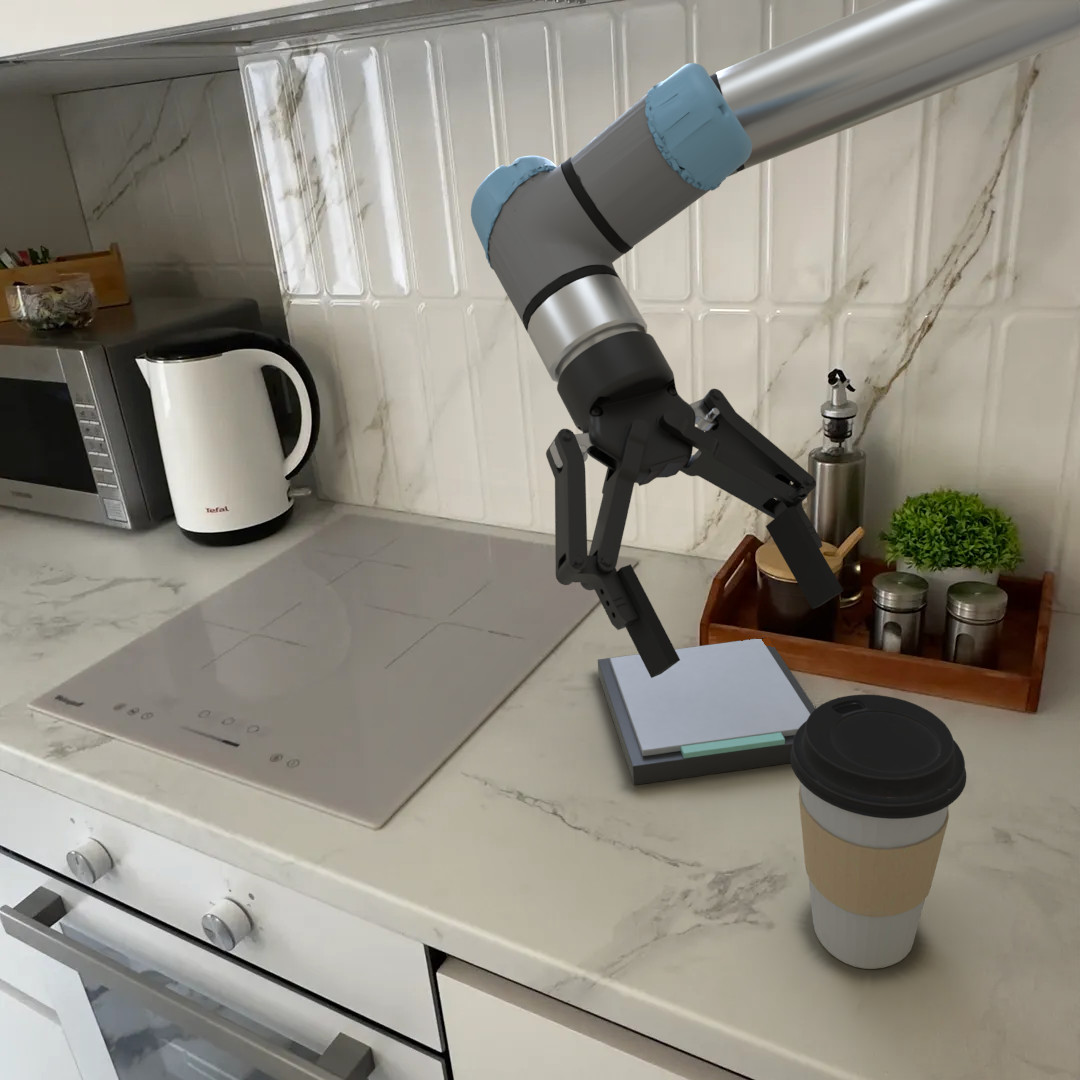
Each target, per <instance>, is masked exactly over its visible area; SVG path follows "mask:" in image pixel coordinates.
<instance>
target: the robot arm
mask: <svg viewBox="0 0 1080 1080" xmlns="http://www.w3.org/2000/svg"><path fill="white" fill-rule="evenodd" d="M1079 39H1080V0H880V1H879V2H875V3H874V4H872V5H871V4H870V5H869V6H867V7H864V8H862V9H859V10H858V11H856V12H853V13H851V14H848V15H846V16H844V17H841V18H839V19H836V20H834V21H832V22H830V23H827V24H825V25H822V26H821V27H818V28H816V29H814V30H812V31H809V32H806V33H804V34H802V35H800V36H797V37H795V38H792V39H790V40H788V41H786V42H783V43H781V44H778V45H777V46H774V47H772V48H769V49H767V50H765V51H762V52H760V53H758V54H755V55H753V56H751V57H749V58H746V59H743V60H742V61H739V62H737V63H735V64H733V65H730V66H728V67H726V68H724V69H721V70H719V71H718V70H717V71H716V72H715V73H713V74H711V75H709V72H708V71H707V70H706V68H705V67H704V66H703V65H701V64H699V63H696V62H691V63H686V64H684V65H683V66H682V67H680V68H679V69H678V70H677V71H675V72H673V74H671V75H670V76H668V77H667V78H666V79H664V80H661V81H660V82H658V83H657V84H655V85H653V86H652V87H651V88H650V89H649V90H648V91H647V92H646V94H644V96H642V97H641V98H640V99H638V100H637V101H636V102H635V103H634V104H633V105H632V106H631V107H629V108H627V110H626V111H625V112H623V113H622V114H621V115H619V116H618V118H616V119H615V120H614V121H612V122H611V123H610V124H609V125H608V126H607V127H606V128H604V130H602V131H601V132H600V133H599V134H597V135H596V136H595V137H594V138H592V140H590V141H589V142H588V143H587V144H586V145H585V146H584V147H582V148H581V149H580V150H579V151H577V153H575V154H574V155H573V156H571V157H569V158H568V159H567V160H565V161H564V162H561V163H560V164H558V165H556V164H555V163H554V162H553V161H551V160H550V159H548V158H546V157H544V156H541V155H526V156H525V155H524V156H520V157H517V158H516V159H514V161H512V163H510V164H509V165H507V166H506V165H505V164H501V165H499V166H498V167H496V168H495V169H494V170H493V171H491V172H490V173H489V174H488V175H487V176H486V177H485V178H484V179H483V180H482V182H480V184H479V185H478V187H477V189H476V191H475V192H474V195H473V198H472V200H471V205H470V206H471V207H470V217H471V222H472V225H473V227H474V230H475V231H476V235H477V237H478V239H479V241H480V243H481V245H482V248H483V250H484V253H485V259H486V260H487V263H488V265H489V267H490V268H491V269H492V270H493V271H494V273H495V275H496V277H497V279H498V280H499V282H500V285H501V286H502V288H503V290H504V291H505V293H506V295H507V297H508V299H509V301H510V302H511V304H512V306H513V308H514V310H515V311H516V313H517V315H518V317H519V319H520V321H521V322H522V324H523V327H524V329H525V331H526V333H527V334H528V336H529V338H530V340H531V342H532V344H533V346H534V348H535V350H536V351H537V353H538V355H539V357H540V359H541V361H542V363H543V365H544V367H545V369H546V371H547V373H548V375H549V377H550V378H551V380H552V381H553V382H556V383H557V385H556V391H557V393H558V395H559V397H560V399H561V401H562V403H563V405H564V407H565V408H566V411H567V413H568V414H569V416H570V419H571V420H572V423H573V424H574V426H575V427H576V428H577V430H578V431H580V432H582V433H576V434H575V433H574V432H573V431H572V430H571V429H569V428H562V429H560V430H559V431H558V432H557V434H556V435H555V436H554V439H553V440H552V441H551V443H550V445H549V446H548V448H547V449H546V452H545V456H546V460H547V462H548V464H549V468H550V469H551V472H552V475H553V478H554V524H555V525H554V532H555V533H554V534H555V535H554V537H555V540H554V541H555V542H554V543H555V547H554V549H555V556H554V557H555V578H556V580H557V582H558V583H559V584H560V585H563V586H569V585H571V584H573V583H580V586H581V587H582V588H583V589H584V590H586V591H595V593H596V595H597V597H598V599H599V602H600V604H601V605H602V607H603V609H604V612H605V613H606V616H607V617H608V619H609V621H610V624H611V625H612V626H613V627H614V628H615V629H616V630H617V631H620V630H623V629H626V631H627V633H628V635H629V636H630V639H631V641H632V643H633V645H634V647H635V649H636V651H637V654H639V655H640V657H641V659H642V661H643V663H644V665H645V667H646V669H647V671H648V673H649V674H650V676H651V678H653V677H655V676H657V675H660V674H662V673H663V672H664V671H666V670H667V669H669V668H670V667H671V666H673V665H674V664H675V663H677V662H678V661H680V659H679V657H678V655H677V653H676V651H675V649H676V648H675V647H674V645H673V644H672V641H671V640H670V638H669V635H668V634H667V632H666V630H665V627H664V625H663V624H662V622H661V620H660V618H659V615H657V612H656V610H655V608H654V607H653V605H652V603H651V600H650V599H649V597H648V595H647V593H646V591H645V589H644V587H643V585H642V583H641V581H640V579H639V578H638V575H637V573H636V572H635V570H634V568H633V566H632V564H627V565H625V566H622V567H619V569H618V570H617V569H616V567H617V564H618V560H619V556H620V551H621V545H622V541H623V538H624V537H623V536H624V533H625V528H626V523H627V519H628V514H629V509H630V504H631V499H632V496H633V491H634V486H635V484H637V485H638V486H639V487H641V486H645V485H647V484H650V483H651V482H653V481H654V480H655V479H657V478H658V479H659V478H660V479H661V478H669V477H673V476H676V475H677V474H678V473H679V472H682V473H683V474H685V475H686V476H688V477H699V478H701V479H703V480H705V481H706V482H708V483H710V484H712V485H714V486H716V487H717V488H719V489H721V490H722V491H724V492H726V493H728V494H730V495H731V496H733V497H735V498H737V499H738V500H740V501H742V502H743V503H746V504H747V505H749V506H751V507H752V508H754V509H756V510H757V511H760V512H761V513H763V514H765V515H767V516H768V517H770V518H772V520H771V521H770V522H769V523H767V525H765V528H766V530H767V532H768V534H769V535H770V537H771V538H772V541H773V542H774V544H775V546H776V548H777V549H778V551H779V552H780V554H781V556H782V558H783V560H784V561H785V563H786V565H787V567H788V568H789V570H790V572H791V574H792V576H793V577H794V579H795V581H796V583H797V584H798V586H799V588H800V590H801V591H802V593H803V595H804V597H805V598H806V601H807V602H808V604H809V606H810V608H811V609H812V610H814V609H816V608H817V609H818V608H819V607H821V606H822V605H824V604H826V603H827V602H829V601H831V600H832V599H834V598H835V597H837V596H838V595H840V594H841V593H843V592H844V589H843V587H842V584H840V582H839V580H838V579H837V577H836V575H835V573H834V572H833V569H832V568H831V566H830V564H829V563H828V561H827V559H826V558H825V556H824V554H823V552H822V551H821V548H823V542H822V538H821V537H820V535H819V533H818V532H817V529H816V528H815V527H814V525H813V523H812V521H811V519H810V518H809V516H808V514H807V513H806V510H805V509H804V507H803V501H804V500H806V499H807V498H808V496H809V494H810V493H811V492H812V491H813V490H814V489H816V487H817V481H816V479H815V477H814V476H812V475H811V474H810V473H809V472H808V471H807V470H805V469H804V468H803V467H802V466H801V465H799V464H798V463H797V462H796V461H795V460H794V459H793V458H791V457H790V456H789V455H788V454H787V453H786V452H784V451H783V450H782V449H780V448H779V447H778V446H777V445H776V444H775V443H773V442H772V441H771V440H770V439H768V438H767V437H766V436H765V435H764V434H762V433H761V431H759V430H758V429H757V428H756V427H754V426H753V425H752V424H750V422H748V421H747V420H746V419H745V418H743V417H742V416H741V415H740V414H738V413H737V412H736V410H735V409H734V407H733V406H732V404H731V403H730V402H729V400H728V399H727V397H726V396H725V395H724V393H723V392H722V391H721V390H720V389H718V388H711V389H710V390H708V392H707V393H706V394H705V396H703V398H702V399H699V400H697V401H695V402H692V403H688V402H687V401H685V399H683V398H682V397H681V395H679V392H678V391H677V387H676V380H675V374H674V371H673V370H672V367H671V366H670V364H669V362H668V361H667V359H666V357H665V356H664V353H663V352H662V350H661V348H660V346H659V344H658V342H657V341H656V340H655V338H654V336H653V335H651V334H650V333H648V324H647V323H646V320H645V319H644V318H643V315H642V314H641V312H640V310H639V308H638V306H637V305H636V303H635V302H634V300H633V299H632V296H631V295H630V293H629V291H628V290H627V288H626V286H625V285H624V283H623V281H622V279H621V277H620V276H619V274H618V273H617V271H616V269H615V267H614V264H613V263H614V262H616V261H617V260H618V259H620V258H621V257H622V256H624V255H625V254H627V253H628V252H629V251H631V250H633V248H634V247H635V246H636V245H638V244H639V243H640V242H641V241H643V240H645V239H646V238H647V237H649V236H651V234H653V233H654V232H655V231H657V230H658V229H660V228H662V226H664V225H665V224H667V223H668V222H669V221H670V220H672V219H674V218H675V217H676V216H677V215H679V214H681V212H683V211H684V210H686V209H687V208H688V207H690V206H692V204H694V203H695V202H696V201H698V200H699V199H701V198H702V197H703V196H704V195H706V194H707V193H709V192H710V191H712V192H713V191H715V190H716V189H718V188H720V186H721V185H722V183H724V181H725V180H726V179H727V178H729V177H731V176H733V175H736V174H738V173H739V172H742V171H744V170H746V169H749V168H751V167H755V166H757V165H759V164H762V163H764V162H767V161H769V160H772V159H775V158H777V157H779V156H782V155H785V154H788V153H790V152H792V151H795V150H798V149H801V148H802V147H805V146H808V145H810V144H813V143H816V142H819V141H820V140H823V139H826V138H829V137H831V136H834V135H836V134H838V133H841V132H844V131H846V130H850V129H851V128H853V127H856V126H859V125H861V124H865V123H867V122H869V121H872V120H874V119H876V118H877V119H878V118H880V117H882V116H884V115H887V114H889V113H892V112H895V111H897V110H900V109H902V108H904V107H907V106H910V105H913V104H914V103H915V104H916V103H918V102H920V101H923V100H926V99H928V98H930V97H934V96H935V95H938V94H940V93H943V92H945V91H948V90H950V89H953V88H956V87H958V86H960V85H961V86H962V85H964V84H966V83H968V82H971V81H973V80H976V79H979V78H982V77H984V76H987V75H989V74H991V73H994V72H997V71H1000V70H1002V69H1004V68H1007V67H1009V66H1012V65H1015V64H1018V63H1020V62H1023V61H1024V60H1027V59H1030V58H1032V57H1034V56H1037V55H1041V54H1043V53H1045V52H1047V51H1051V50H1053V49H1055V48H1057V47H1061V46H1063V45H1065V44H1069V43H1070V42H1074V41H1076V40H1079ZM696 425H697V426H696ZM693 449H696V450H697V451H696V452H695V453H694V454H693ZM589 456H590V457H591V458H592V459H594V460H595V461H597V462H598V463H600V464H602V466H605V467H606V473H605V476H604V481H603V484H602V485H603V486H602V488H601V489H602V490H601V494H602V498H601V501H600V502H601V503H600V506H599V511H598V513H597V514H598V516H597V519H596V524H595V527H594V531H593V535H592V540H591V544H590V549H589V553H588V530H587V529H588V525H587V520H588V519H587V483H586V482H587V481H586V480H587V479H586V478H587V477H586V461H587V460H588V457H589Z"/></svg>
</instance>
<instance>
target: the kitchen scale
mask: <svg viewBox="0 0 1080 1080" xmlns="http://www.w3.org/2000/svg"><path fill="white" fill-rule="evenodd" d="M749 639H750V640H749ZM749 639H743V641H741V640H736V641H735V640H733V641H728V642H727V641H726V642H719V643H712V644H704V645H703V644H702V645H697V646H689V647H688V646H687V647H682V648H674V649H675V651H676V653H677V655H678V657H679V659H680V661H678V662H677V663H675V664H674V665H673V666H671V667H670V668H669V669H667V670H666V671H664V672H663V673H662V674H660V675H657V676H655V677H653V678H651V676H650V674H649V673H648V671H647V669H646V667H645V665H644V663H643V661H642V659H641V657H640V655H639V653H636V654H628V655H621V656H613V657H606V658H599V659H597V673H598V678H599V681H600V684H601V688H602V690H603V694H604V697H605V700H606V704H607V706H608V710H609V712H610V715H611V718H612V721H613V725H614V729H615V732H616V734H617V737H618V740H619V744H620V746H621V751H622V754H623V756H624V759H625V762H626V764H627V765H626V766H627V768H628V771H629V775H630V778H631V781H632V784H633V786H637V785H644V784H651V783H657V782H666V781H672V780H679V779H686V778H694V777H700V776H707V775H715V774H722V773H728V772H729V773H730V772H735V771H740V770H741V771H743V770H749V769H758V768H763V767H771V766H778V765H785V764H791V762H790V750H791V747H792V744H793V739H794V736H795V734H796V732H797V730H798V729H799V728H800V726H801V725H802V724H803V723H804V722H806V721H807V719H808V717H809V716H810V714H811V713H812V712H813V711H814V710H815V709H816V708H817V707H815V706H814V704H813V703H812V701H811V699H810V698H809V696H808V695H807V694H806V692H805V691H804V689H803V688H802V686H801V685H800V683H799V681H798V680H797V678H796V677H795V675H794V674H793V672H792V671H791V669H790V668H789V667H788V665H787V663H786V662H785V661H784V659H783V657H782V655H780V653H779V651H778V650H777V649H776V647H775V646H774V647H771V646H766V645H765V644H764V642H763V641H762V639H756V638H749Z"/></svg>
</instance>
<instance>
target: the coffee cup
mask: <svg viewBox="0 0 1080 1080" xmlns="http://www.w3.org/2000/svg"><path fill="white" fill-rule="evenodd" d="M815 708H816V709H815V710H814V711H813V712H812V713H811V714H810V716H809V717H808V719H807V721H806V722H804V723H803V724H802V725H801V726H800V728H799V729H798V730H797V732H796V734H795V736H794V739H793V744H792V747H791V750H790V762H791V763H790V765H791V768H792V772H793V773H794V774H795V777H796V779H798V781H799V789H798V803H799V812H800V823H801V824H800V825H801V835H802V843H803V844H802V846H803V857H804V865H805V872H806V875H807V876H808V883H809V893H810V894H809V895H810V904H811V905H810V906H811V914H812V924H813V929H814V932H815V935H816V937H817V939H818V941H819V942H820V943H821V945H822V947H824V949H825V950H826V951H827V952H828V953H829V954H830V955H832V956H833V957H834V958H836V959H837V960H839V961H840V962H842V963H844V964H846V965H849V966H851V967H854V968H859V969H863V970H865V969H866V970H875V969H883V968H886V967H890V966H893V965H896V964H897V963H899V962H901V961H902V960H903V959H905V958H906V957H907V956H908V954H909V953H910V952H911V950H912V949H913V945H914V942H915V938H916V935H917V931H918V927H919V923H920V920H921V915H922V912H923V908H924V905H925V901H926V898H927V897H928V896H929V893H930V891H931V888H932V884H933V881H934V876H935V873H936V869H937V865H938V861H939V858H940V855H941V850H942V845H943V843H944V842H943V841H944V838H945V834H946V830H947V827H948V823H949V818H950V813H949V806H950V805H952V804H953V803H954V802H955V801H956V800H958V798H959V797H960V796H961V794H962V793H963V792H964V789H965V787H966V784H967V770H966V760H965V757H964V753H963V751H962V750H961V747H960V746H959V744H958V743H957V742H956V741H955V740H954V738H953V735H952V732H951V730H950V729H949V728H948V726H947V725H946V724H945V722H944V721H943V720H941V719H940V718H939V717H938V716H937V715H935V713H933V712H931V711H930V710H928V709H926V708H925V707H922V706H920V705H918V704H916V703H914V702H910V701H908V700H905V699H902V698H897V697H893V696H887V695H880V694H852V695H850V694H849V695H844V696H840V697H837V698H833V699H830V700H828V701H825V702H824V703H822V704H820V705H819V706H817V707H815Z"/></svg>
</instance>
